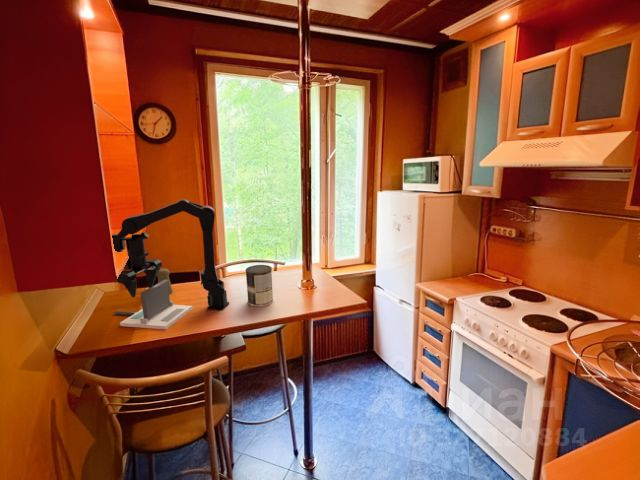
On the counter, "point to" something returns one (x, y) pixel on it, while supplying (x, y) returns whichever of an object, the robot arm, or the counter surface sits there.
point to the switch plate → (156, 317)
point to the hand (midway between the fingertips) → (142, 292)
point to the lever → (155, 299)
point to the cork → (165, 278)
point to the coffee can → (259, 285)
